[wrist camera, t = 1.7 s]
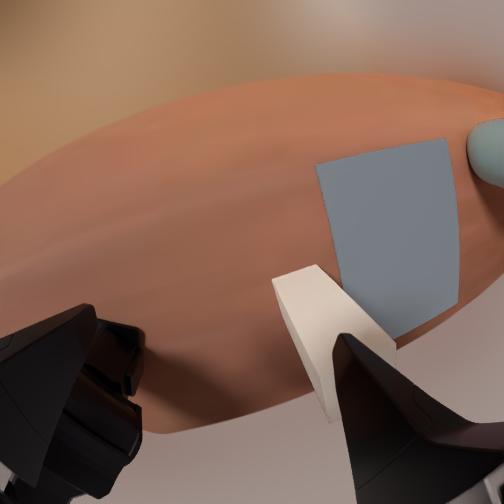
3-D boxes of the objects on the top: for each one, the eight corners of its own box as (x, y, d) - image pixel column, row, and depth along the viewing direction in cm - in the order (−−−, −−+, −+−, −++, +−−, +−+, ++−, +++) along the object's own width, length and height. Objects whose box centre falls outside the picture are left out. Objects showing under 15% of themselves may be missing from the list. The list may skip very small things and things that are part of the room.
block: (283, 318, 24) (329, 423, 12) (271, 279, 23) (319, 377, 11) (324, 303, 24) (394, 394, 12) (315, 264, 23) (396, 343, 11)
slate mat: (352, 356, 26) (353, 358, 26) (313, 165, 21) (315, 165, 20) (455, 301, 27) (457, 302, 27) (444, 138, 21) (445, 138, 21)
